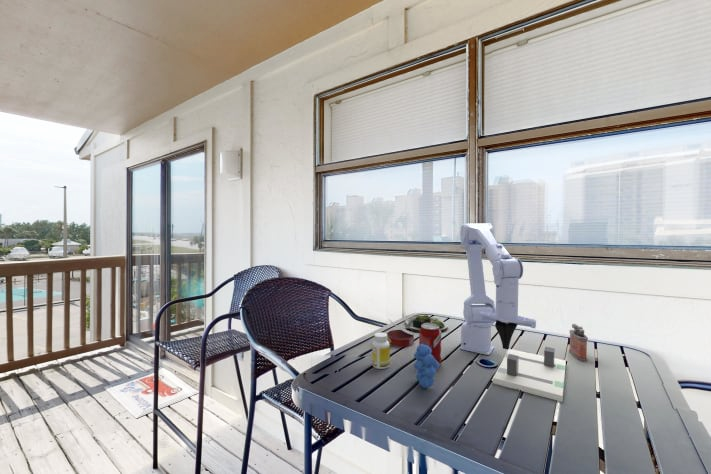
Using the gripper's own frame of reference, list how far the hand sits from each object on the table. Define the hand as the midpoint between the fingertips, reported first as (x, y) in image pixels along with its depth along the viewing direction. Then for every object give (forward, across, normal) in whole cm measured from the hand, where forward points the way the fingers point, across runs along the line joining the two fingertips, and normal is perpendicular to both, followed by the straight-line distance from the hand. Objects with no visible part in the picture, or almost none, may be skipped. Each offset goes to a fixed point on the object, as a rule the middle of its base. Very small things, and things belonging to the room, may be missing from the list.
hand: (505, 347), depth 91 cm
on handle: (+7, +10, +12) cm, 17 cm away
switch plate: (+8, +6, +6) cm, 12 cm away
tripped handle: (+7, +2, 0) cm, 7 cm away
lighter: (+9, +17, +28) cm, 34 cm away
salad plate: (+9, -36, +28) cm, 47 cm away
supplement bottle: (+9, -33, -14) cm, 37 cm away
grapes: (+8, -16, -18) cm, 26 cm away
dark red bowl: (+9, -37, +7) cm, 39 cm away
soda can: (+9, -21, -4) cm, 23 cm away
